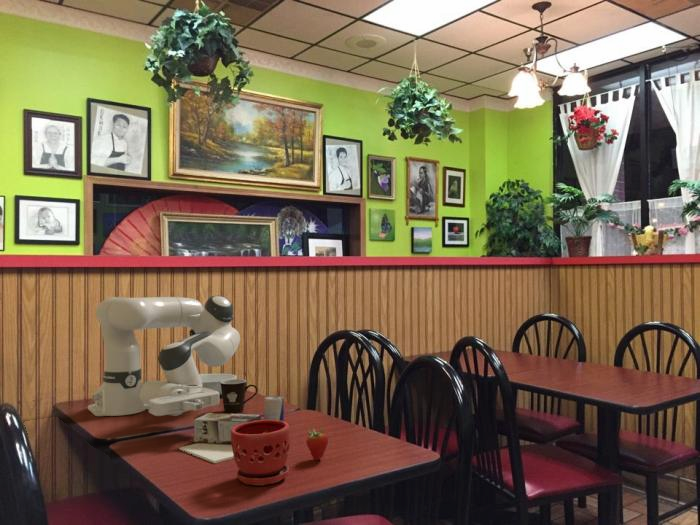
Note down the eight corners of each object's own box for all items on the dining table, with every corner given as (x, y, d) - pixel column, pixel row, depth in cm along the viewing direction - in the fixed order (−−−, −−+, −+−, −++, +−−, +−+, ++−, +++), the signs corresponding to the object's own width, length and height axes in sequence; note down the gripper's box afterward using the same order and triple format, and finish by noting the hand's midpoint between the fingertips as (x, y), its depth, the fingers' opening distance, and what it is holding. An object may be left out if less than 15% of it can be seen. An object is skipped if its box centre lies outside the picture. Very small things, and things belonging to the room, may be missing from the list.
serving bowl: (247, 391, 236) (247, 374, 237) (214, 402, 217) (214, 383, 217) (204, 388, 245) (204, 371, 245) (169, 398, 226) (169, 380, 226)
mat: (179, 449, 159) (179, 447, 159) (224, 438, 169) (224, 436, 169) (214, 463, 147) (214, 461, 147) (261, 450, 157) (261, 448, 157)
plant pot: (267, 465, 144) (267, 415, 145) (302, 478, 135) (301, 425, 135) (220, 479, 135) (219, 426, 136) (253, 494, 126) (252, 437, 126)
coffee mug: (215, 413, 200) (215, 383, 201) (230, 407, 208) (229, 378, 209) (245, 415, 196) (245, 385, 196) (259, 409, 204) (258, 380, 204)
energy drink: (287, 439, 167) (286, 396, 167) (279, 444, 162) (278, 400, 162) (270, 437, 169) (269, 395, 169) (261, 443, 164) (260, 399, 164)
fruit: (304, 457, 150) (304, 425, 150) (325, 455, 152) (325, 423, 152) (309, 463, 145) (308, 430, 146) (330, 461, 147) (330, 428, 147)
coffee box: (193, 443, 163) (248, 446, 159) (193, 419, 163) (248, 421, 159) (209, 434, 171) (262, 437, 167) (209, 412, 172) (262, 414, 168)
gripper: (139, 394, 167) (164, 401, 158) (204, 383, 182) (229, 389, 172) (140, 417, 167) (164, 425, 158) (204, 404, 182) (230, 411, 172)
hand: (199, 406), depth 165 cm, fingers closed
